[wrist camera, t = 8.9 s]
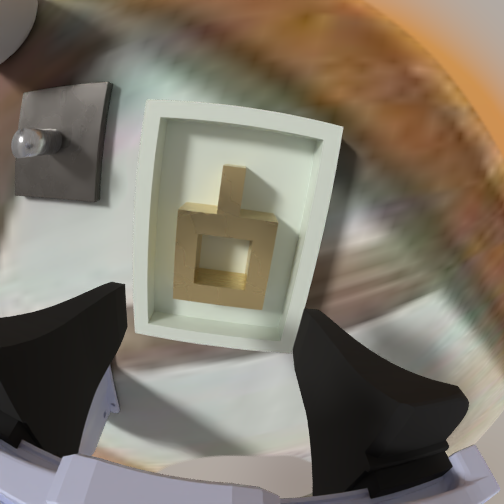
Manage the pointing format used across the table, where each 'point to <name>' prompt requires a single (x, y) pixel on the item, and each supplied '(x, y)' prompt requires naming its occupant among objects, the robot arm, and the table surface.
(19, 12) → the can
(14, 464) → the robot arm
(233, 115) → the tray
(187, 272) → the square frame with tab
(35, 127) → the square base with knob
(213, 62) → the table surface
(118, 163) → the table surface
